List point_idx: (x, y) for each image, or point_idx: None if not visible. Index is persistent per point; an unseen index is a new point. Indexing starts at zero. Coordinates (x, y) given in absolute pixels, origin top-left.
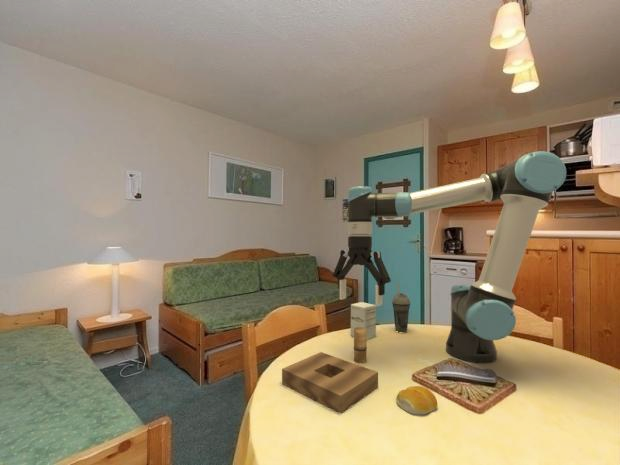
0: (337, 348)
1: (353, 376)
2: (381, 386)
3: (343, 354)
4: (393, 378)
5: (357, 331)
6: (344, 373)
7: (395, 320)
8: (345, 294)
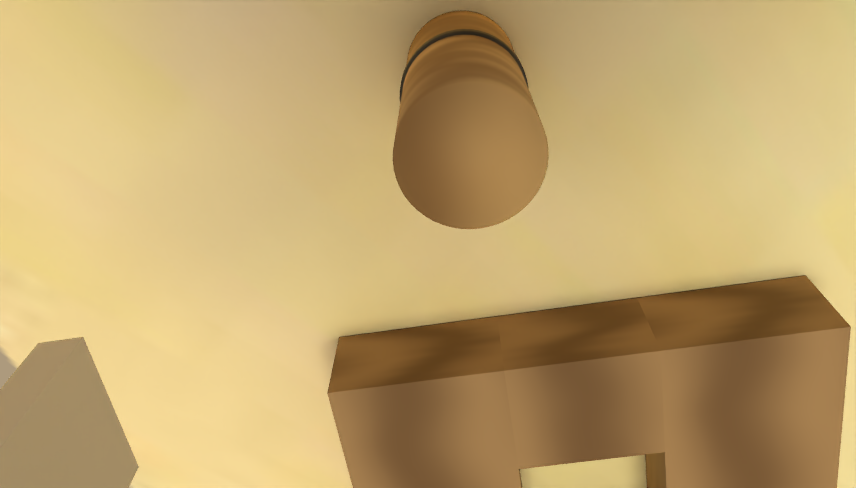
0: (133, 31)
1: (756, 468)
2: (815, 251)
3: (278, 86)
4: (829, 105)
5: (492, 222)
6: (690, 479)
7: None
8: (54, 417)
